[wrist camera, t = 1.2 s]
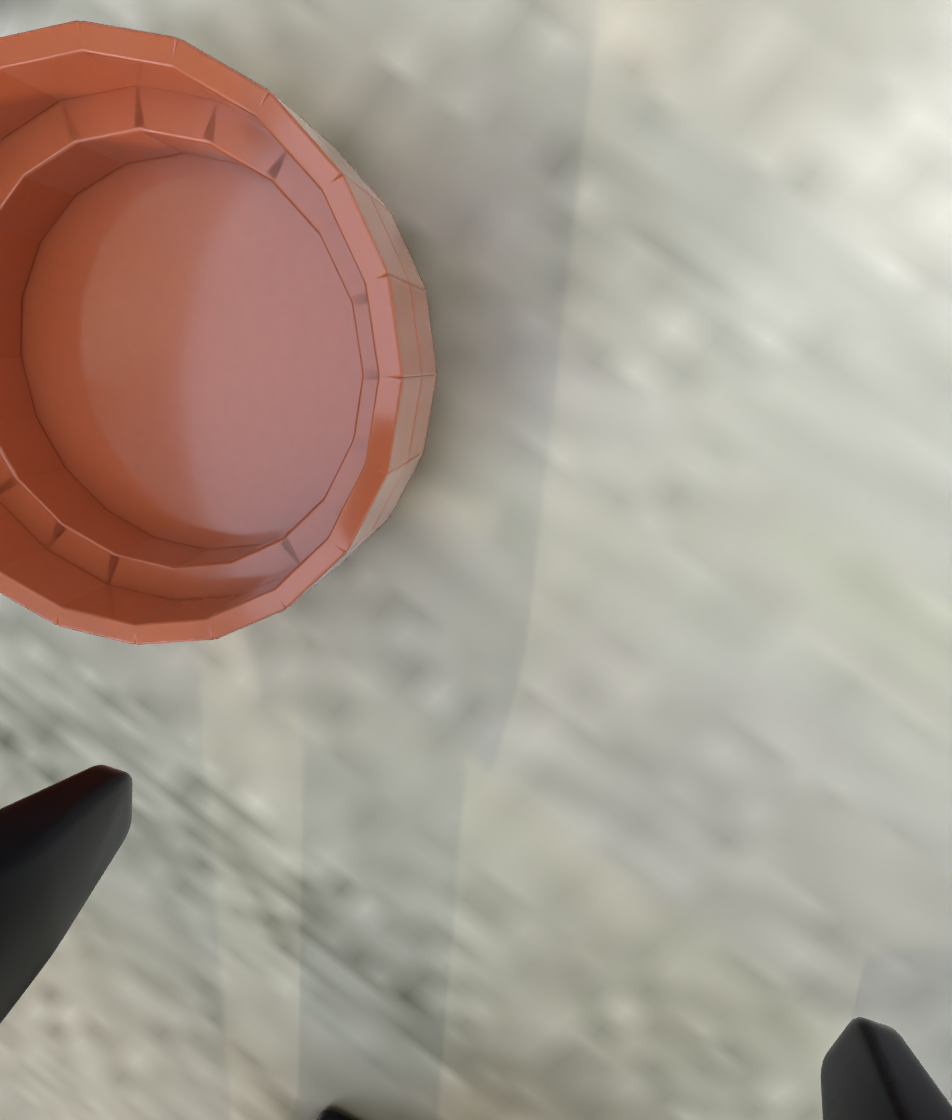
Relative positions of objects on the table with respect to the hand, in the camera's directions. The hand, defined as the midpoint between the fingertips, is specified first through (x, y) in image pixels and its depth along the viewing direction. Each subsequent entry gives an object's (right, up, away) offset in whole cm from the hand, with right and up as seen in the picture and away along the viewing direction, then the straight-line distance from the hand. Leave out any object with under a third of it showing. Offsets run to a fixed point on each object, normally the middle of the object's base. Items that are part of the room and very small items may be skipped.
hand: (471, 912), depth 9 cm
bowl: (-8, +10, +14) cm, 19 cm away
